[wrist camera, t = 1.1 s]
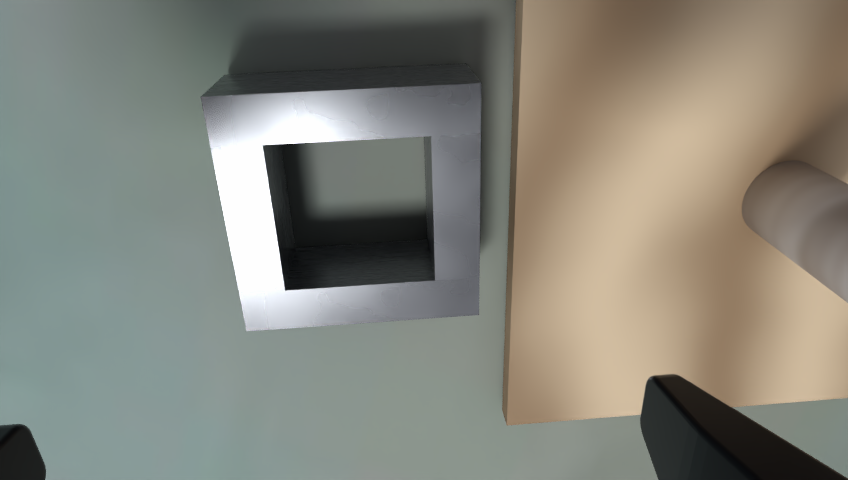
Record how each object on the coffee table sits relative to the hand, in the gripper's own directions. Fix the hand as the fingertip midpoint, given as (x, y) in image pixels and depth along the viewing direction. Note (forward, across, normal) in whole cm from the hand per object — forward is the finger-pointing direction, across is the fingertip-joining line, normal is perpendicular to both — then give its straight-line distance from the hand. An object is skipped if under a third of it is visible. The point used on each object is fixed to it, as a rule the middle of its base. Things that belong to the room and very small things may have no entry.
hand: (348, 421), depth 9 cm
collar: (+10, 0, 0) cm, 10 cm away
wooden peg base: (+10, -12, +1) cm, 16 cm away
